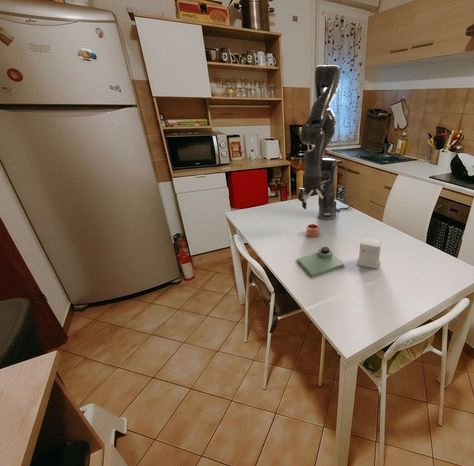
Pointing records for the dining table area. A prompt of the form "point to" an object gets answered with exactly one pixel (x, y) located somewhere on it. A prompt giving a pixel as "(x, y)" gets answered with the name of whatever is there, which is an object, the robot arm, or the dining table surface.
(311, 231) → the bowl
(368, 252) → the small box
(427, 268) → the dining table surface
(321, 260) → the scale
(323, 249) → the tare button
